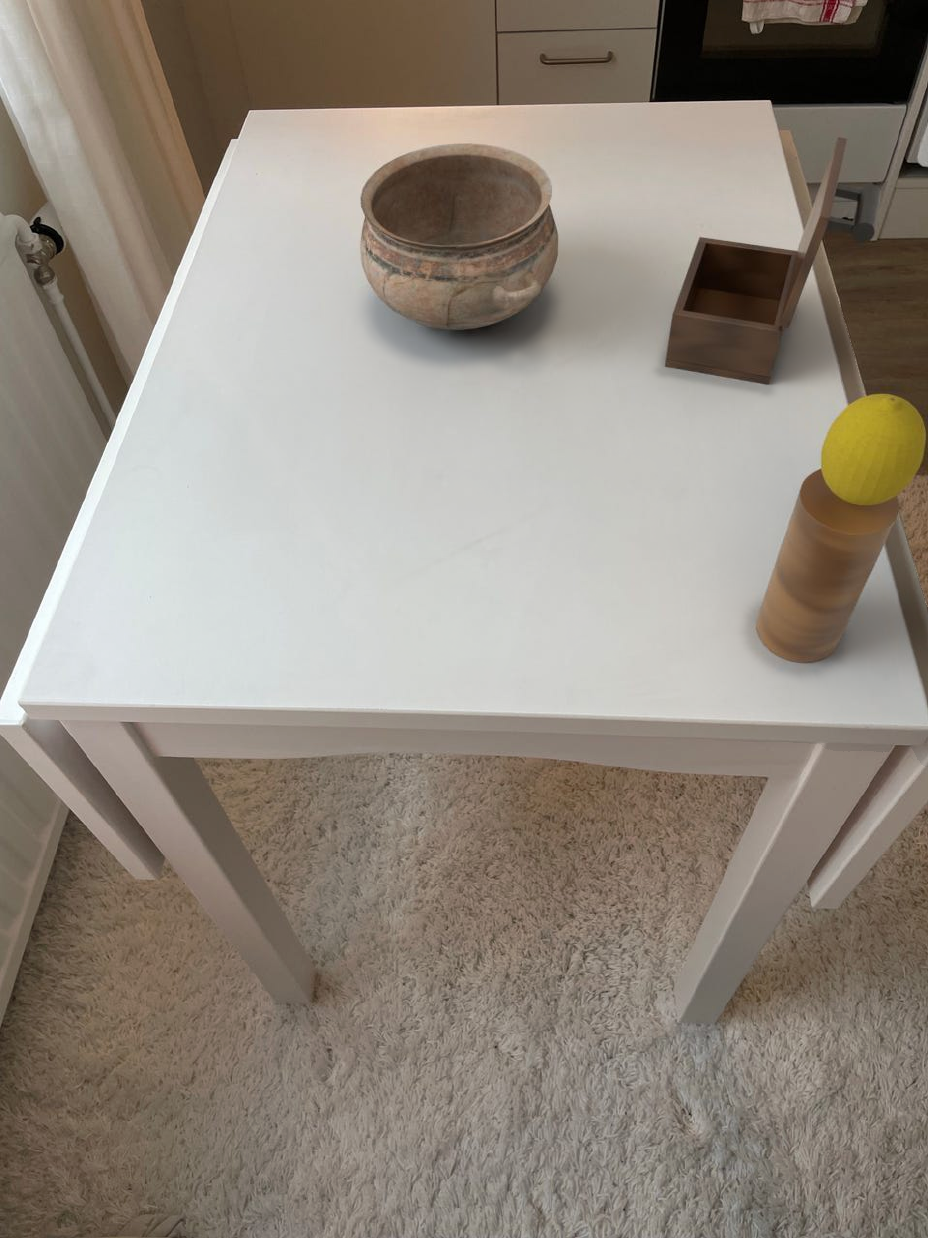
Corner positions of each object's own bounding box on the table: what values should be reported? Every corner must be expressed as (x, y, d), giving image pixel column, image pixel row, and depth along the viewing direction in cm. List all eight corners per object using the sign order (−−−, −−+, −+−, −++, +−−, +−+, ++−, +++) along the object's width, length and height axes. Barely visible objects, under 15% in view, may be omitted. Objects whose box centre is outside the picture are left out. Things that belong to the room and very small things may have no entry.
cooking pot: (325, 278, 101) (304, 166, 91) (478, 220, 106) (473, 108, 96) (444, 411, 87) (434, 295, 78) (612, 337, 92) (622, 220, 83)
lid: (819, 215, 74) (882, 229, 73) (838, 136, 81) (895, 147, 80) (778, 326, 82) (834, 339, 82) (798, 245, 89) (850, 257, 89)
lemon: (903, 477, 61) (948, 377, 54) (894, 540, 58) (941, 441, 51) (813, 459, 62) (847, 359, 56) (801, 520, 59) (835, 421, 53)
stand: (843, 608, 72) (903, 475, 61) (834, 671, 69) (895, 543, 57) (762, 590, 73) (806, 457, 62) (750, 651, 70) (793, 522, 59)
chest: (664, 366, 90) (672, 313, 85) (691, 288, 97) (699, 236, 92) (768, 384, 87) (782, 331, 83) (787, 303, 94) (801, 250, 90)
